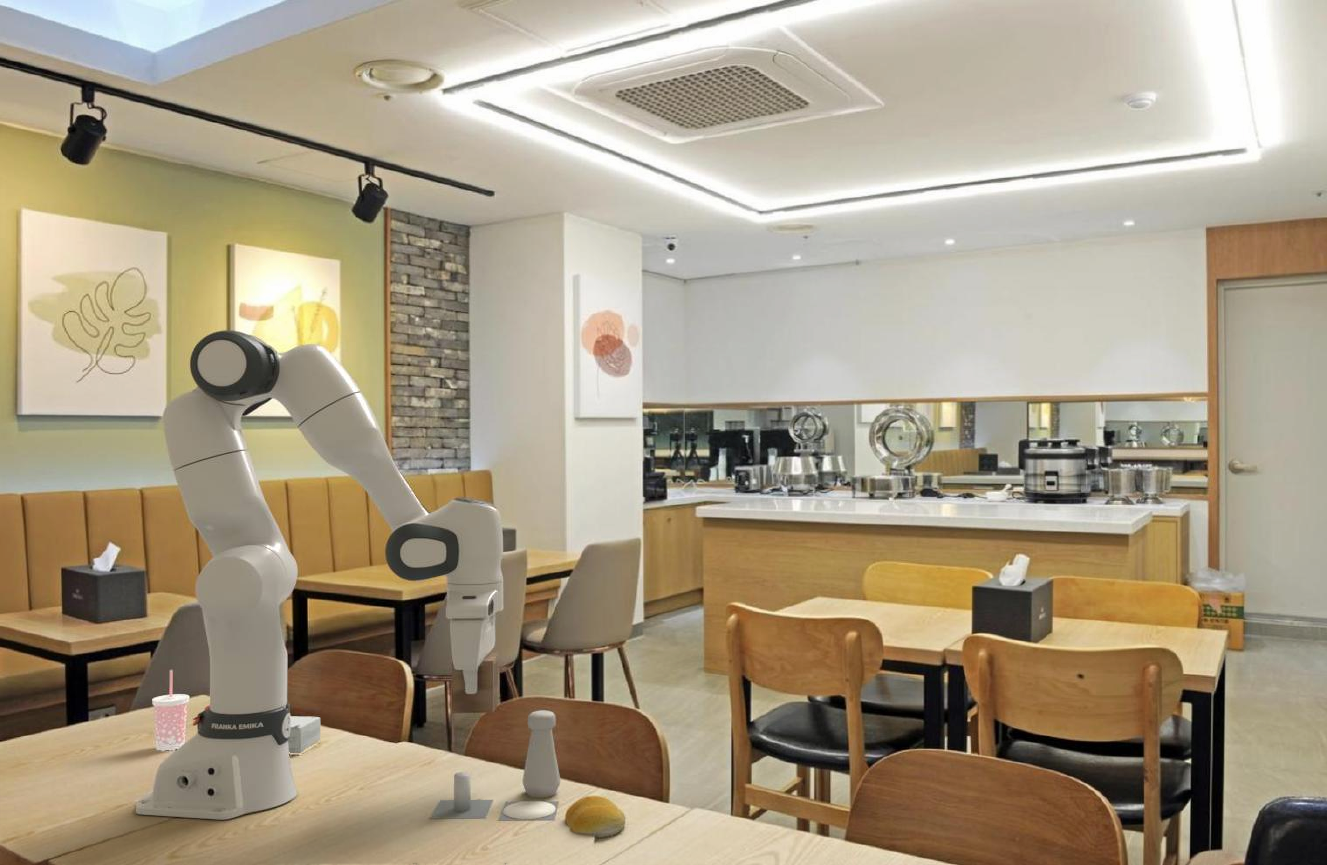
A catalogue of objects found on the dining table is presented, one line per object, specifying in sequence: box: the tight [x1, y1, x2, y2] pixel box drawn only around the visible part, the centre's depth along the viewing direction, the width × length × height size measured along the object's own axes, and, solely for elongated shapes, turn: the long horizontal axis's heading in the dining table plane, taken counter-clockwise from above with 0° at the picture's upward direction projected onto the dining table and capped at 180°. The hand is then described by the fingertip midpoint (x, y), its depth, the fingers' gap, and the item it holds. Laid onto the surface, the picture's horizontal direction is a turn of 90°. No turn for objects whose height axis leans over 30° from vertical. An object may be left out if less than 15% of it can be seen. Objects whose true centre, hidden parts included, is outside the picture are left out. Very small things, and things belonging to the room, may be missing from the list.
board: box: [429, 771, 494, 820], centre depth 150 cm, size 8×8×6 cm
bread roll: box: [564, 795, 626, 839], centre depth 144 cm, size 8×9×4 cm
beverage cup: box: [151, 669, 190, 752], centre depth 185 cm, size 6×6×14 cm
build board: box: [498, 800, 560, 822], centre depth 149 cm, size 8×8×1 cm
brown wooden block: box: [451, 652, 500, 714], centre depth 161 cm, size 6×6×8 cm
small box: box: [288, 715, 321, 753], centre depth 184 cm, size 8×8×5 cm
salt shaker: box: [522, 710, 561, 799], centre depth 157 cm, size 6×6×13 cm
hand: (475, 687), depth 161 cm, fingers closed on brown wooden block, 6 cm apart
